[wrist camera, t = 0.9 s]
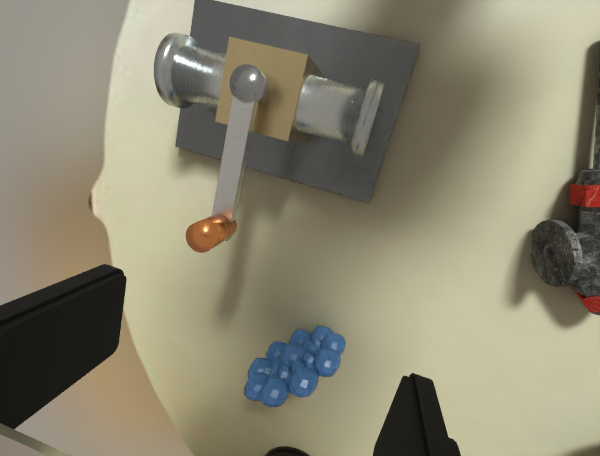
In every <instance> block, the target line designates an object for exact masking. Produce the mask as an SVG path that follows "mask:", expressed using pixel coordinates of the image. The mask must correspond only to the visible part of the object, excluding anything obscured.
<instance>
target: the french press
mask: <svg viewBox="0 0 600 456" xmlns="http://www.w3.org/2000/svg"><path fill="white" fill-rule="evenodd" d="M265 456H309V455H308V454H306V453H305V452H303V451H301V450H299V449H296V448H292V447H277V448H274V449H272V450H270V451H269V452H268V453H267V454H266V455H265Z"/></svg>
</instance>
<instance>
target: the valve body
mask: <svg viewBox="0 0 600 456" xmlns="http://www.w3.org/2000/svg"><path fill="white" fill-rule="evenodd" d="M419 47H420V44H415V43H410V42H406V41H401V40H396V39H392V38H387V37H382V36H378V35H373V34H368V33H364V32H359V31H354V30H350V29H345V28H340V27H336V26H331V25H326V24H322V23H317V22H312V21H308V20H303V19H298V18H294V17H289V16H284V15H280V14H275V13H270V12H265V11H261V10H256V9H251V8H247V7H242V6H237V5H233V4H228V3H223V2H219V1H214V0H195V3H194V11H193V18H192V26H191V33H190V36H187V35H183V34H179V33H171V34H169V35H167V36H166V37H165V38H164V39H163V40H162V41H161V43H160V45H159V47H158V49H157V52H156V56H155V62H154V79H155V84H156V88H157V91H158V93H159V95H160V97H161V98H162V100H163V101H164V102H165V103H167V104H168V105H171V106H175V107H178V108H180V116H179V123H178V131H177V138H176V147H179V148H183V149H186V150H189V151H193V152H196V153H200V154H203V155H207V156H210V157H213V158H217V159H220V160H222V155H223V150H224V144H225V138H226V133H227V127H228V121H229V116H230V110H231V104H232V99H233V95H232V93H231V90H230V85H229V82H230V77H231V74H232V72H233V71H234V70H235V69H236V68H237V67H238V66H240V65H243V64H250V65H253V66H255V67H256V68H258V69H259V70H261V71H262V72H264V73H265V74H266V76H267V77H268V79H269V83H270V92H269V95H268V97H267V99H266V100H265V101H264V102H263V103H261V104H259V105H258V108H257V113H256V118H255V123H254V128H253V133H252V138H251V143H250V148H249V153H248V158H247V163H246V167H248V168H251V169H254V170H258V171H261V172H265V173H268V174H272V175H275V176H278V177H282V178H285V179H289V180H292V181H295V182H299V183H302V184H306V185H309V186H313V187H316V188H319V189H323V190H326V191H330V192H333V193H337V194H340V195H343V196H347V197H350V198H354V199H357V200H360V201H364V202H367V203H369V202H370V199H371V195H372V192H373V189H374V186H375V183H376V180H377V177H378V174H379V171H380V168H381V165H382V162H383V158H384V155H385V152H386V149H387V146H388V143H389V140H390V137H391V134H392V131H393V128H394V124H395V121H396V118H397V115H398V112H399V109H400V106H401V103H402V100H403V97H404V94H405V90H406V87H407V84H408V81H409V78H410V75H411V72H412V69H413V66H414V63H415V60H416V56H417V53H418V50H419Z"/></svg>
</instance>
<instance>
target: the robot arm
mask: <svg viewBox="0 0 600 456" xmlns="http://www.w3.org/2000/svg"><path fill="white" fill-rule="evenodd" d="M125 288H126V276H124V273H123V271H122V270H121V269H118V268H115V267H113V266H110V265H106V264H104V265H101V266H98V267H96V268H93V269H91V270H88V271H86V272H83V273H81V274H78V275H76V276H73V277H71V278H68V279H66V280H63V281H61V282H58V283H56V284H53V285H51V286H48V287H46V288H43V289H41V290H38V291H36V292H33V293H31V294H28V295H26V296H23V297H21V298H18V299H16V300H13V301H11V302H8V303H6V304H3V305H1V306H0V456H71V455H69V454H66V453H65V452H62V451H60V450H58V449H56V448H53V447H51V446H49V445H47V444H44V443H42V442H40V441H38V440H36V439H34V438H31V437H29V436H27V435H24V434H23V433H20V432H18V431H16V430H14V429H15V428H16V427H17V426H19V425H20V424H21V423H23V422H24V421H25V420H27V419H28V418H29V417H31V416H32V415H33V414H35V413H36V412H37V411H39V410H40V409H41V408H42V407H44V406H45V405H47V404H48V403H49V402H50V401H52V400H53V399H54V398H56V397H57V396H58V395H60V394H61V393H62V392H64V391H65V390H66V389H67V388H69V387H70V386H71V385H73V384H74V383H75V382H77V381H78V380H79V379H81V378H82V377H83V376H85V375H86V374H87V373H89V372H90V371H91V370H92V369H94V368H95V367H96V366H98V365H99V364H100V363H102V362H103V361H104V360H106V359H107V358H108V357H109V356H111V355H112V354H113V353H114V352H115V351H116V349H117V347H118V343H119V336H120V329H121V320H122V312H123V304H124V296H125ZM373 456H461V455H460V451H459V448H458V445H457V443H456V442H455V441H454V440H453V439H451V438H448V434H447V431H446V427H445V423H444V420H443V416H442V412H441V409H440V405H439V402H438V398H437V394H436V391H435V387H434V383H433V381H432V380H431V379H428V378H425V377H422V376H420V375H417V374H414V373H412V374H411V375H410V376H409V377H407V376H403V377H402V379H401V382H400V384H399V387H398V389H397V392H396V394H395V397H394V399H393V402H392V404H391V407H390V409H389V412H388V414H387V417H386V419H385V422H384V424H383V427H382V429H381V432H380V434H379V437H378V439H377V442H376V444H375V447H374V452H373Z"/></svg>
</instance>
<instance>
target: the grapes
mask: <svg viewBox="0 0 600 456" xmlns="http://www.w3.org/2000/svg"><path fill="white" fill-rule="evenodd" d="M345 344H346V343H345V339H344V338H343V337H342V336H341V335H339V334H336V333H333V331H332V330H331V329H330V328H328V327H324V326H317V327H316V328H315V329H314V331H313V332H312V334H311V333H310V332H309V331H306V330H296V331H295V332H294V333H293V335H292V336H291V339H290V341H289V344H288V345H287V343H284V342H273V343H272V344H271V345H270V347H269V348H268V350H267V353H266V358H256V359H255V360H254V362H253V363H252V364H251V366H250V368H249V370H248V378H249V379H248V381H247V383H246V385H245V388H244V394H245V396H246V397H247V399H250V400H253V401H262V403H263V404H264V405H266V406H269V407H278V406H281V405H282V404H283V403H284V402H285V400H286V399H287V397H288V395H289V393H292V394H293V395H295V396H298V397H307V396H310V395H311V394H312V393H313V391H314V390H315V388H316V386H317V383H318V377H319V376H322V377H330V376H333V375H334V374H335V372H336V371H337V369H338V368H339V365H340V362H341V360H340V355H341V353H342V352H343V350H344V347H345Z"/></svg>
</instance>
